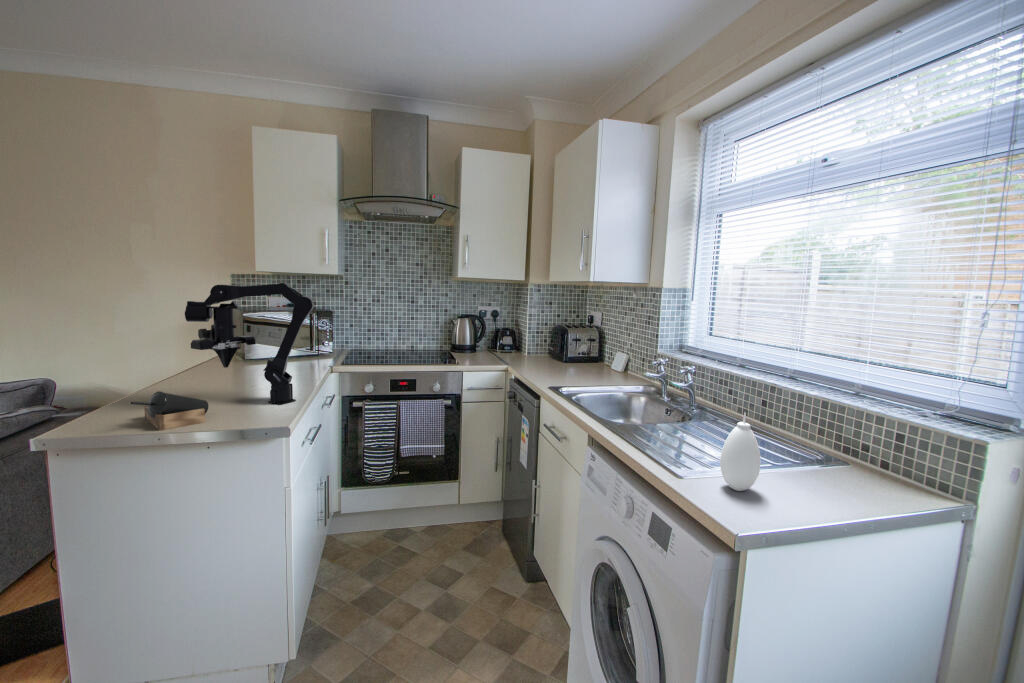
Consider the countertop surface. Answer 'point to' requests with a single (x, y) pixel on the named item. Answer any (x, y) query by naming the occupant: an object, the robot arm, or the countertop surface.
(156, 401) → the drinking cup
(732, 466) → the sauce bottle
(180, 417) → the wooden tray
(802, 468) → the countertop surface
